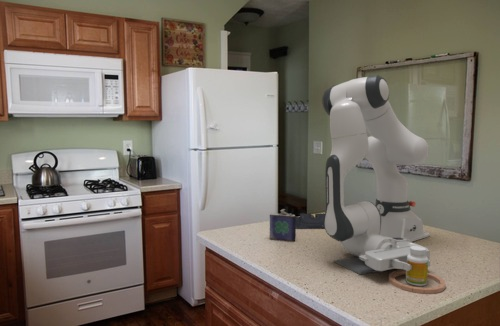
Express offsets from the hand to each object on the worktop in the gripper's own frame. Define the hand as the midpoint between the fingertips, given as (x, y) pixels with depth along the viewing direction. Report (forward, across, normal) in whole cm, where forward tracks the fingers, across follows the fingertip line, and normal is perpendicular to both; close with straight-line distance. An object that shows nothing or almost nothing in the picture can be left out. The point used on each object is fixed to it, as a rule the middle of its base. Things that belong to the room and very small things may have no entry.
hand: (419, 265), depth 109 cm
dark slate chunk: (-68, +7, +6) cm, 68 cm away
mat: (-18, -3, +5) cm, 19 cm away
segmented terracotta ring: (-1, 0, +5) cm, 5 cm away
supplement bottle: (-1, 0, +5) cm, 5 cm away
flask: (-52, -12, +5) cm, 54 cm away
